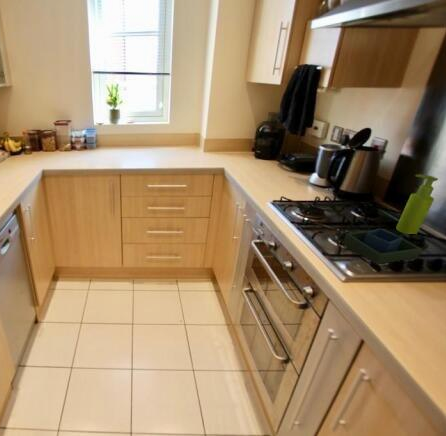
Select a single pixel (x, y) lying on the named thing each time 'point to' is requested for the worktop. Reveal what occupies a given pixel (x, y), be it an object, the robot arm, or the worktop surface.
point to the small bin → (382, 241)
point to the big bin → (356, 245)
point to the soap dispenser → (417, 207)
